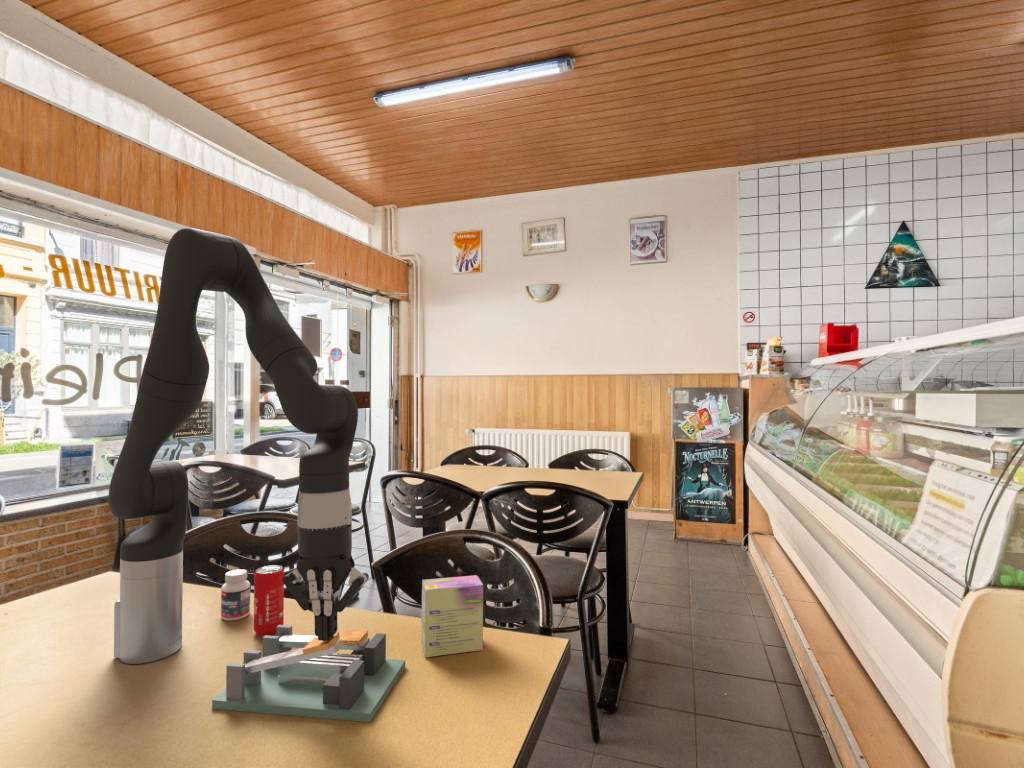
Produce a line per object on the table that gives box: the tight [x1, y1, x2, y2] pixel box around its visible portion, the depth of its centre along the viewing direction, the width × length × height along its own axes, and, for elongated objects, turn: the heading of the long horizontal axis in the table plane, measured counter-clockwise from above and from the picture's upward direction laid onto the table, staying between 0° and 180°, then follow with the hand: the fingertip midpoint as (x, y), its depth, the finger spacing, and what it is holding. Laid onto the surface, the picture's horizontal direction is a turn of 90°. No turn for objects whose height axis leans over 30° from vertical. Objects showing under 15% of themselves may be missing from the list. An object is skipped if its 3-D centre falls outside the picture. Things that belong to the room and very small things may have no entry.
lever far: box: [278, 629, 371, 651], centre depth 89 cm, size 16×4×2 cm, turn 83°
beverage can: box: [253, 564, 285, 638], centre depth 103 cm, size 5×5×12 cm
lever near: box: [244, 631, 343, 674], centre depth 80 cm, size 16×4×2 cm, turn 83°
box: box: [420, 574, 484, 658], centre depth 97 cm, size 10×6×12 cm, turn 106°
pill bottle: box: [220, 568, 251, 622], centre depth 110 cm, size 5×5×9 cm
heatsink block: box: [278, 649, 363, 687], centre depth 84 cm, size 12×4×3 cm, turn 83°
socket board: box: [211, 624, 406, 723], centre depth 84 cm, size 24×15×6 cm, turn 83°
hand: (326, 638), depth 79 cm, fingers closed
